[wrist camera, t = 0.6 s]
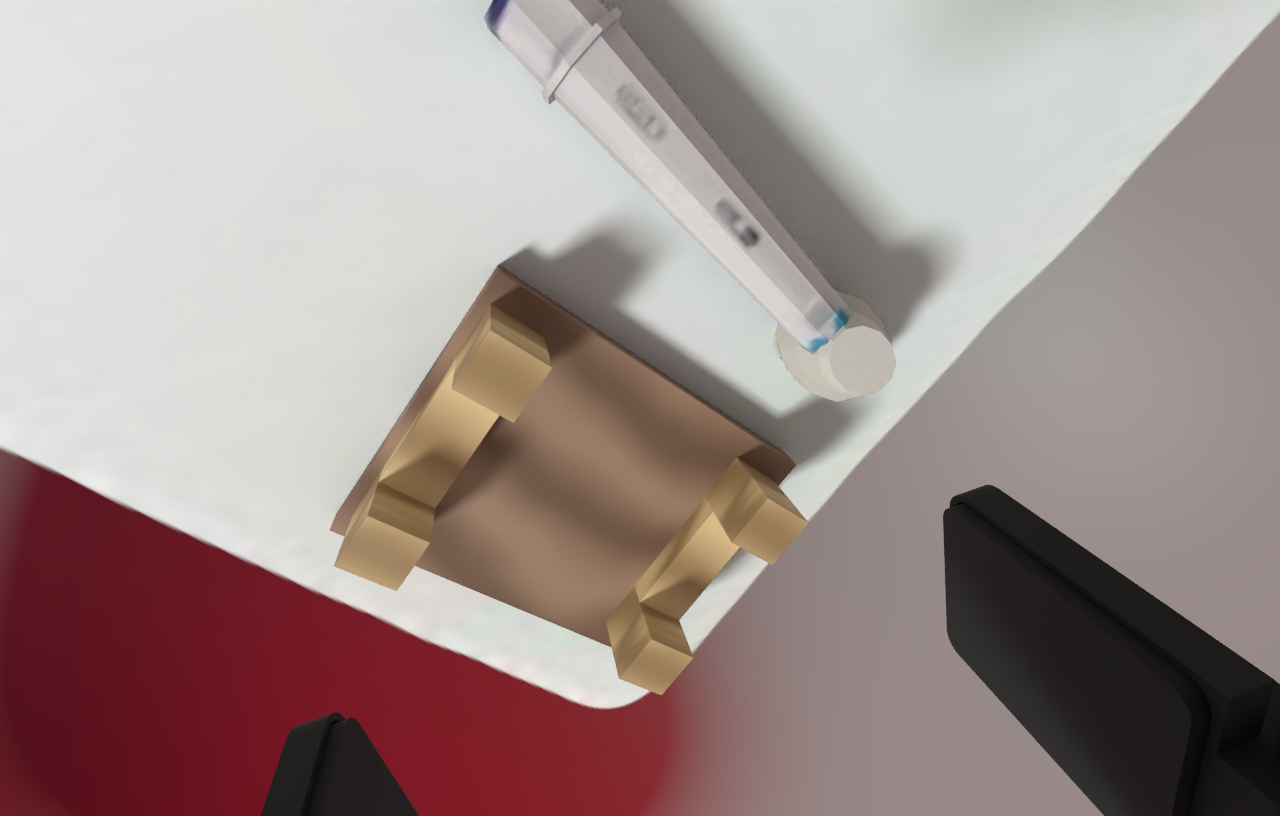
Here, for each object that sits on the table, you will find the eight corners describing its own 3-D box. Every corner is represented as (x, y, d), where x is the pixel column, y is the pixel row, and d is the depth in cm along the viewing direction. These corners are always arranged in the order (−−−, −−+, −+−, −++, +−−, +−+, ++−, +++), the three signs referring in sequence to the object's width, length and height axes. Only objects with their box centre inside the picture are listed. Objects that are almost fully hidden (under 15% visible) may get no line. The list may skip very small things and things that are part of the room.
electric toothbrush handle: (562, -92, 23) (953, 370, 30) (562, -27, 29) (885, 342, 36) (465, 23, 23) (871, 447, 31) (485, 62, 30) (818, 406, 37)
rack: (498, 265, 30) (499, 292, 25) (784, 453, 38) (833, 505, 33) (336, 514, 34) (306, 586, 28) (631, 640, 42) (652, 715, 36)
